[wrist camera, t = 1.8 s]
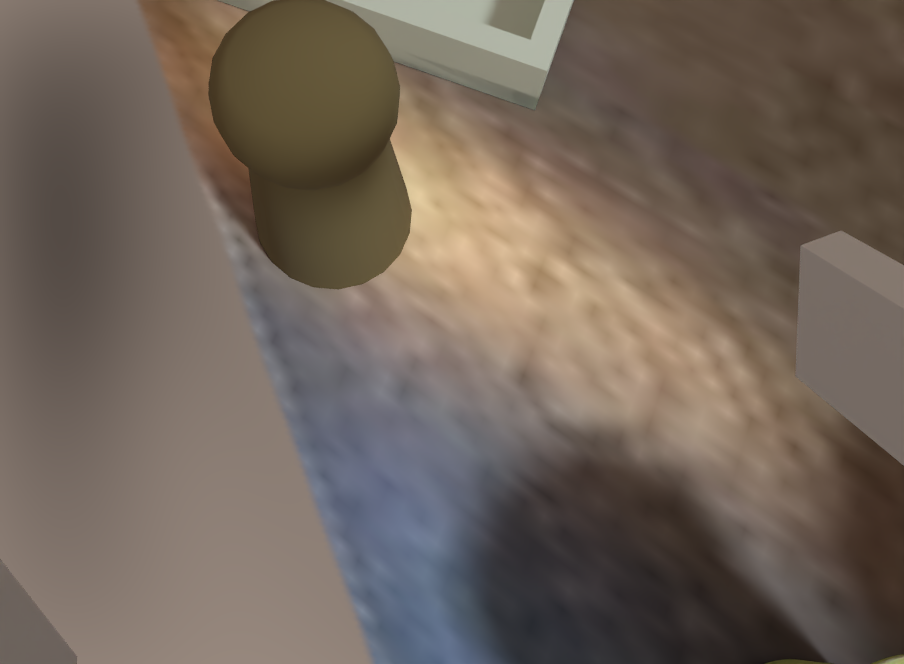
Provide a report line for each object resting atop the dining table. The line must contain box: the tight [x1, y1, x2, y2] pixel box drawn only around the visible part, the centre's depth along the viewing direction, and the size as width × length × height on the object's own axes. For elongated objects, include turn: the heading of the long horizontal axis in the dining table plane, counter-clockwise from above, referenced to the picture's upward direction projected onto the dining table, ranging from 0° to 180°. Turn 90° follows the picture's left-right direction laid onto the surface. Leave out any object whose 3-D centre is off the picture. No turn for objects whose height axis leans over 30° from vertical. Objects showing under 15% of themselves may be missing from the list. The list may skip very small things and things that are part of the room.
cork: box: [209, 0, 412, 289], centre depth 26 cm, size 6×6×11 cm
